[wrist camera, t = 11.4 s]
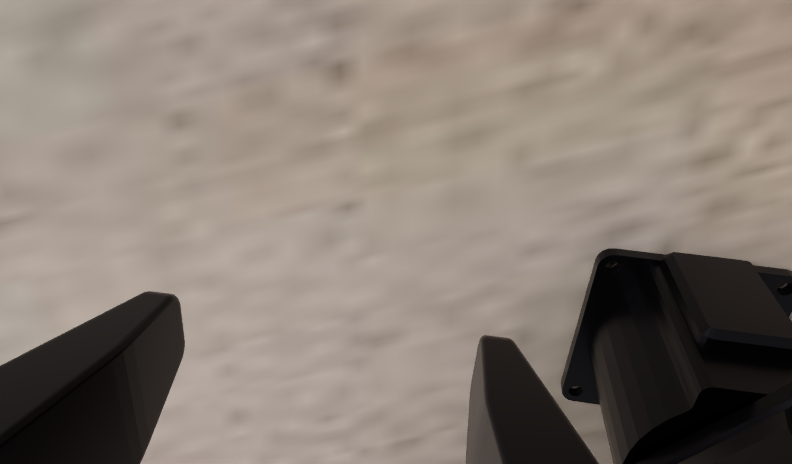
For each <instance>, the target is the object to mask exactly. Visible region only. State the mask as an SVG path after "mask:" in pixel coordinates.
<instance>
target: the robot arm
mask: <svg viewBox="0 0 792 464" xmlns="http://www.w3.org/2000/svg"><path fill="white" fill-rule="evenodd" d="M612 261H616V262H618V264H617V265H616V266H615V267H612V268H608V267H605V266H606V264H607V263H609V262H612ZM783 283H788V285H787V286H786V287H784V288H780V289H777V288H778V287H779V286H780V285H781V284H783ZM791 312H792V271H790V270H786V269H778V268H770V267H762V266H753V265H752V264H751V263H750V262H748V261H743V260H734V259H726V258H718V257H710V256H701V255H693V254H685V253H677V252H673V253H670V254H667V255H663V254H655V253H647V252H638V251H630V250H622V249H607V250H604V251H602V252H601V253H600V254H598V256H597V258H596V259H595V263H594V267H593V270H592V274H591V277H590V281H589V284H588V288H587V291H586V295H585V298H584V302H583V305H582V309H581V313H580V316H579V320H578V323H577V327H576V330H575V334H574V337H573V341H572V344H571V348H570V352H569V355H568V359H567V362H566V366H565V369H564V373H563V376H562V380H561V389H562V394H563V395H564V397H565V398H567V399H568V400H572V401H578V402H585V403H593V404H600V406H601V410H602V415H603V419H604V423H605V428H606V432H607V436H608V441H609V445H610V449H611V454H612V458H613V463H614V464H792V322H791V320H790V319H789V316H790V314H791ZM184 347H185V340H184V332H183V323H182V315H181V307H180V302H179V300H178V298H177V297H176V296H175V295H173V294H167V293H160V292H151V291H148V292H144V293H142V294H140V295H138V296H136V297H134V298H132V299H130V300H128V301H126V302H124V303H122V304H120V305H118V306H116V307H114V308H112V309H111V310H109V311H107V312H105V313H103V314H101V315H99V316H97V317H95V318H93V319H91V320H89V321H87V322H85V323H83V324H81V325H79V326H77V327H75V328H73V329H71V330H69V331H67V332H65V333H64V334H62V335H60V336H58V337H56V338H54V339H52V340H50V341H48V342H46V343H44V344H42V345H40V346H38V347H36V348H34V349H32V350H30V351H28V352H26V353H24V354H22V355H20V356H19V357H17V358H15V359H13V360H11V361H9V362H7V363H5V364H3V365H1V366H0V464H140V463H141V460H142V458H143V456H144V454H145V452H146V449H147V447H148V444H149V442H150V440H151V437H152V434H153V432H154V429H155V427H156V424H157V422H158V419H159V417H160V414H161V411H162V409H163V406H164V404H165V401H166V399H167V396H168V394H169V391H170V388H171V386H172V383H173V381H174V378H175V376H176V373H177V371H178V368H179V365H180V363H181V360H182V357H183V353H184ZM573 386H579V387H578V388H571V387H573ZM466 464H599V463H598V462H597V460H596V459H595V457H594V456H593V454H592V453H591V452H590V450H589V449H588V447H587V446H586V444H585V443H584V442H583V440H582V439H581V437H580V436H579V434H578V433H577V431H576V430H575V429H574V427H573V426H572V424H571V423H570V421H569V420H568V419H567V417H566V416H565V414H564V413H563V411H562V410H561V409H560V407H559V406H558V404H557V403H556V401H555V400H554V398H553V397H552V396H551V394H550V393H549V391H548V390H547V388H546V387H545V386H544V384H543V383H542V381H541V380H540V378H539V377H538V376H537V374H536V373H535V371H534V370H533V368H532V367H531V365H530V364H529V363H528V361H527V360H526V358H525V357H524V355H523V354H522V353H521V351H520V350H519V348H518V347H517V345H516V344H515V343H514V341H512V340H511V339H509V338H503V337H495V336H488V335H484V336H482V337H481V338H480V341H479V344H478V349H477V355H476V360H475V366H474V371H473V377H472V382H471V390H470V401H469V418H468V435H467V451H466Z"/></svg>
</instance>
